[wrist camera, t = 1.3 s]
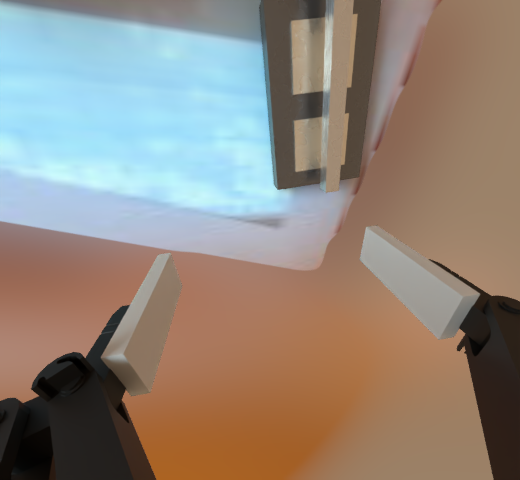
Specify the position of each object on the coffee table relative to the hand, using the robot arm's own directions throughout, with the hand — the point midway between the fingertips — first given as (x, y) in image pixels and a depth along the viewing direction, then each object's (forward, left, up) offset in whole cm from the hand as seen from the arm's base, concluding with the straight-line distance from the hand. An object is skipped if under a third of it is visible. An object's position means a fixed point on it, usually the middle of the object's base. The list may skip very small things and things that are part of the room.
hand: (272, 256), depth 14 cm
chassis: (-11, +12, -24) cm, 29 cm away
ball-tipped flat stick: (-11, +12, -18) cm, 24 cm away
